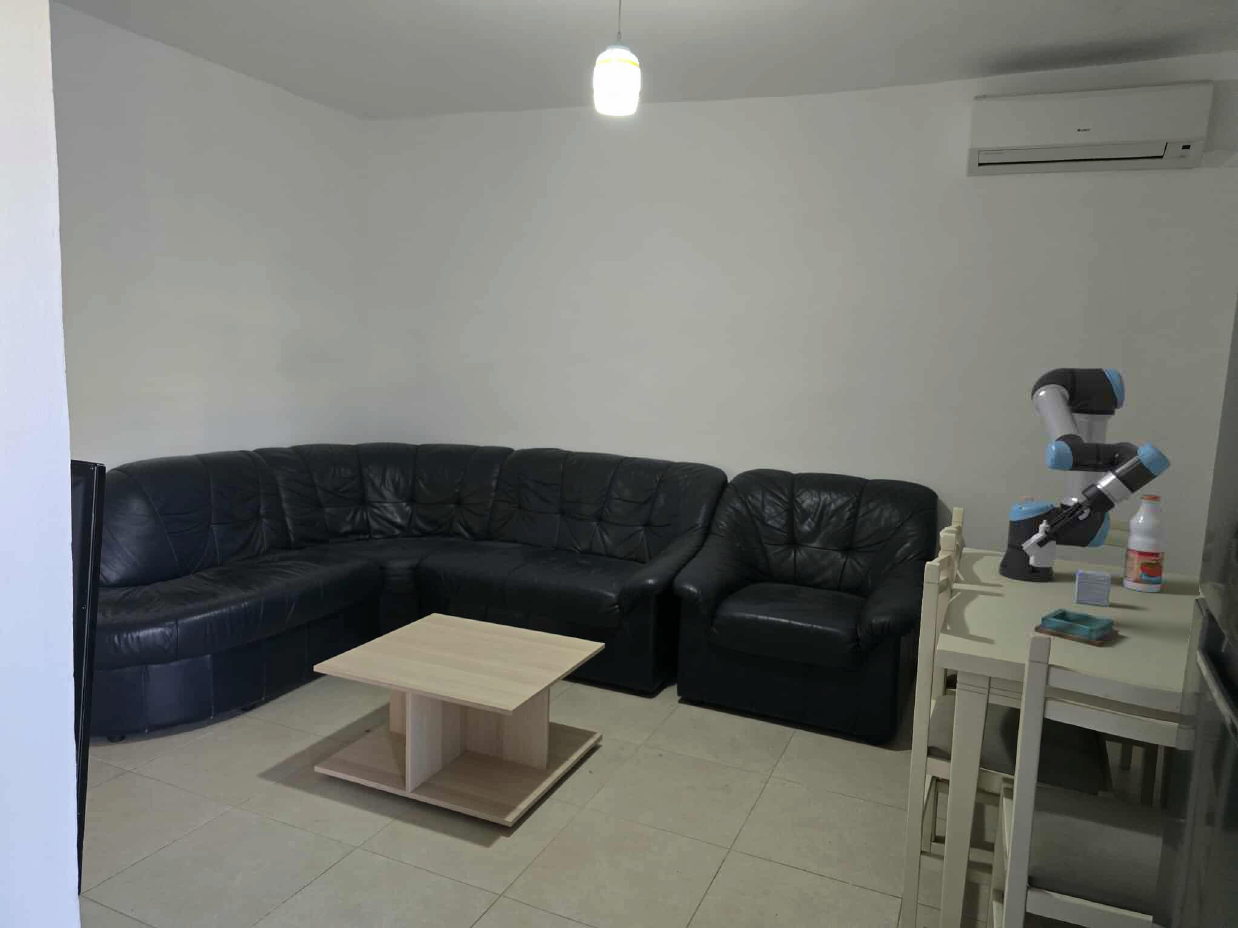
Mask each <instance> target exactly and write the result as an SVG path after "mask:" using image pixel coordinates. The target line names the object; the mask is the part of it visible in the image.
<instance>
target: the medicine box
mask: <svg viewBox="0 0 1238 928" xmlns="http://www.w3.org/2000/svg"><path fill="white" fill-rule="evenodd" d="M1075 575H1076V577H1075V587H1074V601H1075V603H1076V604H1082V605H1083V604H1085V605H1092V606H1099V607H1106V608H1107V607H1109V602H1110V593H1111V583H1112V576H1111V574H1110V573H1109V572H1104V571H1102V572H1101V571H1095V570H1094V571H1093V570H1087V569H1086V570H1083V569H1076V574H1075Z"/></svg>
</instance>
